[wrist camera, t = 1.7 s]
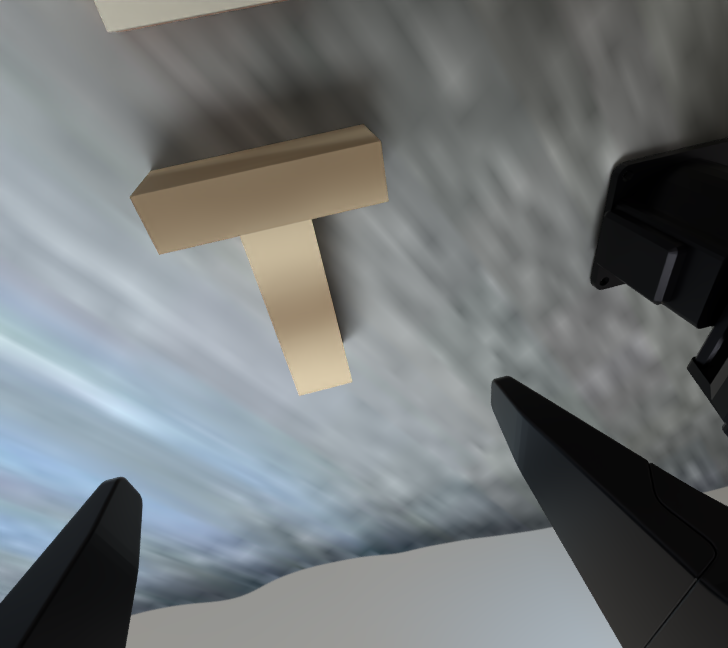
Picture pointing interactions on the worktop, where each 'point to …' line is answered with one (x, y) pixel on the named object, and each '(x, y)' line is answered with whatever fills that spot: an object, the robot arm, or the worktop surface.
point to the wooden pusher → (274, 229)
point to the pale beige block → (164, 11)
